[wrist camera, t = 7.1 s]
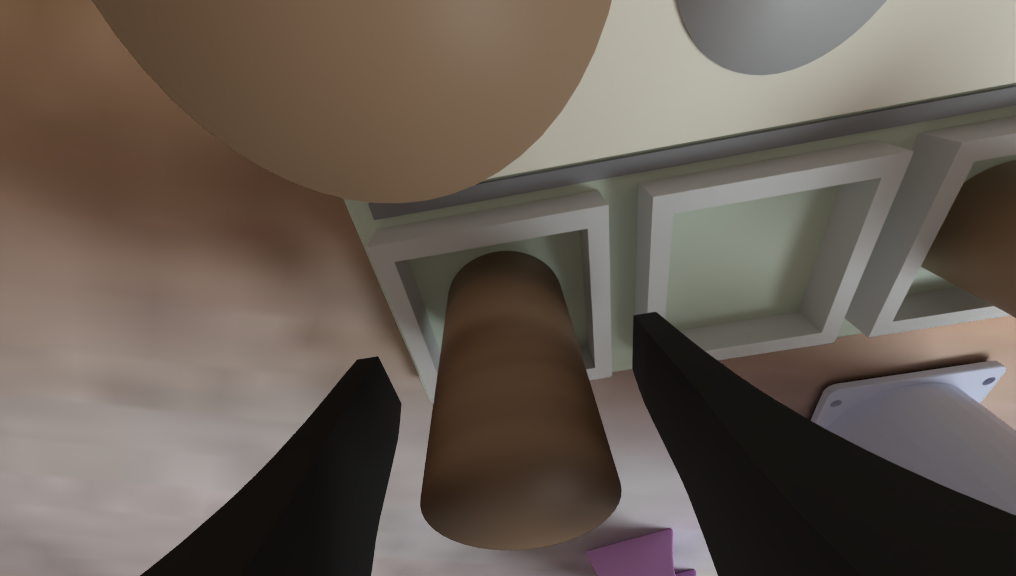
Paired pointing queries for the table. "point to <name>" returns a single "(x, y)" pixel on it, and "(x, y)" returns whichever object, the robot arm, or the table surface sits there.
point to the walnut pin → (514, 415)
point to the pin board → (633, 152)
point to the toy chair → (637, 557)
